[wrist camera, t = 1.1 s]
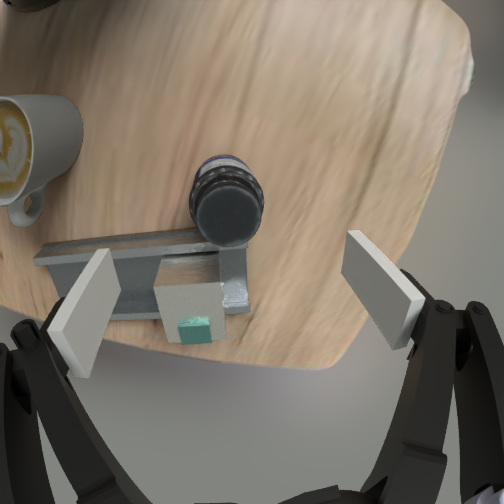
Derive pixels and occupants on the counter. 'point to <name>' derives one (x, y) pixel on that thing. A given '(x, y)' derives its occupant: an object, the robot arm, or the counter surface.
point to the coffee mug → (35, 149)
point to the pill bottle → (226, 201)
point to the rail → (163, 279)
